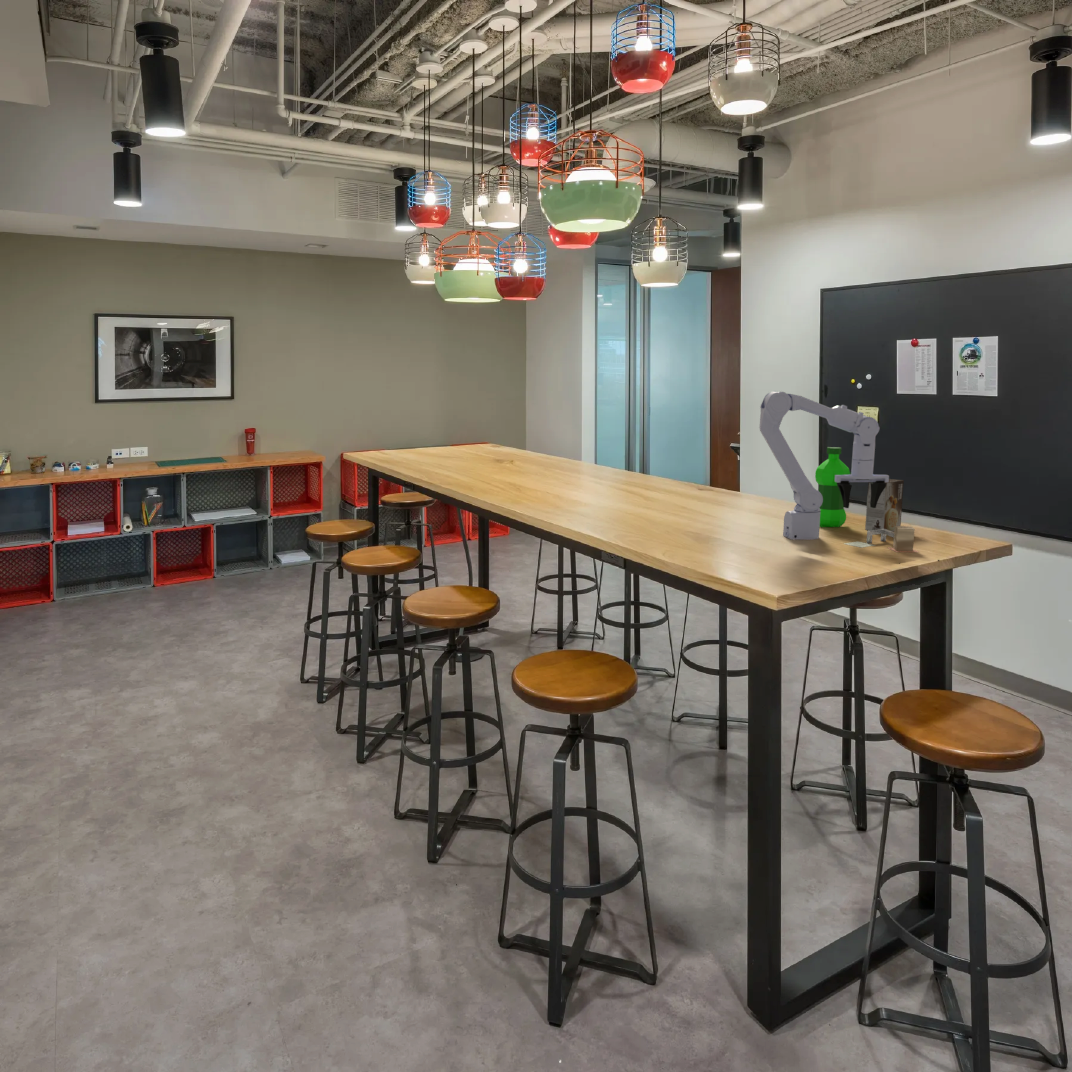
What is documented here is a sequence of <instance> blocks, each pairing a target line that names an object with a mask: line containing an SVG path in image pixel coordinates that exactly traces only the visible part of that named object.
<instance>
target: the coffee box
mask: <svg viewBox="0 0 1072 1072" xmlns="http://www.w3.org/2000/svg"><path fill="white" fill-rule="evenodd" d="M870 483H871V482H867V494H866V496H867V498H866V510H865V511H866V513H865V524H864V525H865V527H864V530H865V531H871V530H879V529H887V530H889V531H891V532H895V526H902V525H901V524H902V512H903V511H902V509H903V497H904V496H903V495H904V483H905V480H904V479H893V478H892V479H891V478H889V482H884V483H886V487H885V489H884V490H883V491H882V493H881V495H880V497H879V499H878V502H877V505H876V508H872V507H870V501H871V485H870Z"/></svg>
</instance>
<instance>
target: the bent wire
mask: <svg viewBox="0 0 1072 1072" xmlns="http://www.w3.org/2000/svg"><path fill="white" fill-rule="evenodd" d="M894 533H895V531H893V532H891V531H889V530H887V529H879V530H871V531H869V530H866V542H865V543H868V544H873V535H880V539H879V541H880V542H886V541H887V536H889V537H891V538H893V539H894ZM892 544H893V545H894V542H893V543H892ZM893 545H892V546H893Z"/></svg>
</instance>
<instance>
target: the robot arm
mask: <svg viewBox="0 0 1072 1072" xmlns="http://www.w3.org/2000/svg"><path fill="white" fill-rule="evenodd" d="M759 407H760V408H759V409H760V416H759V417H760V418H759V432H760V433H761V435H762V437H763V438H764V440H765V441H766V443H767V445H768V447H769V449H770V451H771V453H772V454H773V456H774V458H775V460H776V461H777V464H778V465H779V466H780V469H781V470H782V471H783V474H784V476H785V477H786V478H787V481H788V482H789V485H790V488H791V490H792V491H793V500H794V502H795V504H796V505H795V506H794V507H793V509H792V510H787V511H786V512H785V513H784V516H783V517H784V518H783V530H782V531H783V532H782V533H783V534H782V535H783V537H785V538H786V539H790V540H818V539H820V528H821V527H820V511H821V509H820V506H821V505H822V502H823V497H822V494H821V493H820V492H819V489H816V488H815V487H814V486H813V484H812V483H811V481H810V480H809V477H807V475H806V474H805V472H804V470H803V468H802V467H801V465H800V463H799V461H798V460H797V458H796V457H795V454H794V452H793V451H792V449H791V447H790V446H789V444H788V442H787V440H786V439H785V436H784V435H783V434H782V431H781V430H780V425H781V424H782V421H783V418H784V417H785V416H786V414H787V413H788V412H789V411H791V412H794V411H803V412H807V413H809V414H812V415H815V416H819V417H821V418H824V419H826V421H827V424H828V425H829V426H832V427H835V428H837V429H840V430H842V431H845V432H848V433H852V434H853V443H852V444H853V445H852V457H851V470H850V474H848V475H835V482H837V486H838V488H839V490H840V493H841V496H842V500H843V506H844V509H849V508H850V498H851V497H850V496H851V491H852V487H853V485H852V484H851V483H868V482H871V483H870V485H871V501H870V507H872V508H876V505H877V502H878V499H879V497H880V495H881V493H882V491H883V490H884V489H885V487H886V483H884V482H889V479H890V475H888V474H874V466H875V453H876V452H875V451H876V450H875V449H876V436H877V435H878V433H879V432H880V428H881V427H880V426H879V423H878V422H879V421H877V420H876V418H874V417H871V416H867V415H864V412H862V411H859V412H858V411H857V412H856V411H854V410H852V409H849V408H848V405H845V404H841V405H835V406H833V407H829V406H827V405H824V404H822V403H819V402H817V401H814V400H812V399H810V398H807V397H804V396H802V395H799V394H793V393H786V392H784V391H778V390H773V391H770V392H769V391H768V393H766V394H765V396H764V398H763V400H762V401H761V404H760V406H759Z"/></svg>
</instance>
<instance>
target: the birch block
mask: <svg viewBox="0 0 1072 1072" xmlns="http://www.w3.org/2000/svg"><path fill="white" fill-rule="evenodd" d="M915 531H916V530H915V528H914V527H913V526H911V525H910V526H909V525H907V526H906V525H901V526H895V531H894V538H893V543H894V545H892V547H893V548H894V549H895V550H896V551H912V552H911V553H914V552H913V549H914V542H915V541H914V540H915Z"/></svg>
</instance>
